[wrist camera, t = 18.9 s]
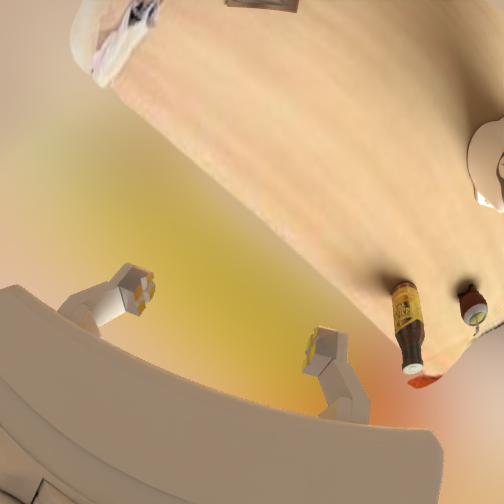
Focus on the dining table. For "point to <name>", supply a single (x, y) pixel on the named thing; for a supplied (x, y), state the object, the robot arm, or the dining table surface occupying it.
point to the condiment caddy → (266, 4)
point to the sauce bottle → (408, 326)
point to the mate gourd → (473, 308)
